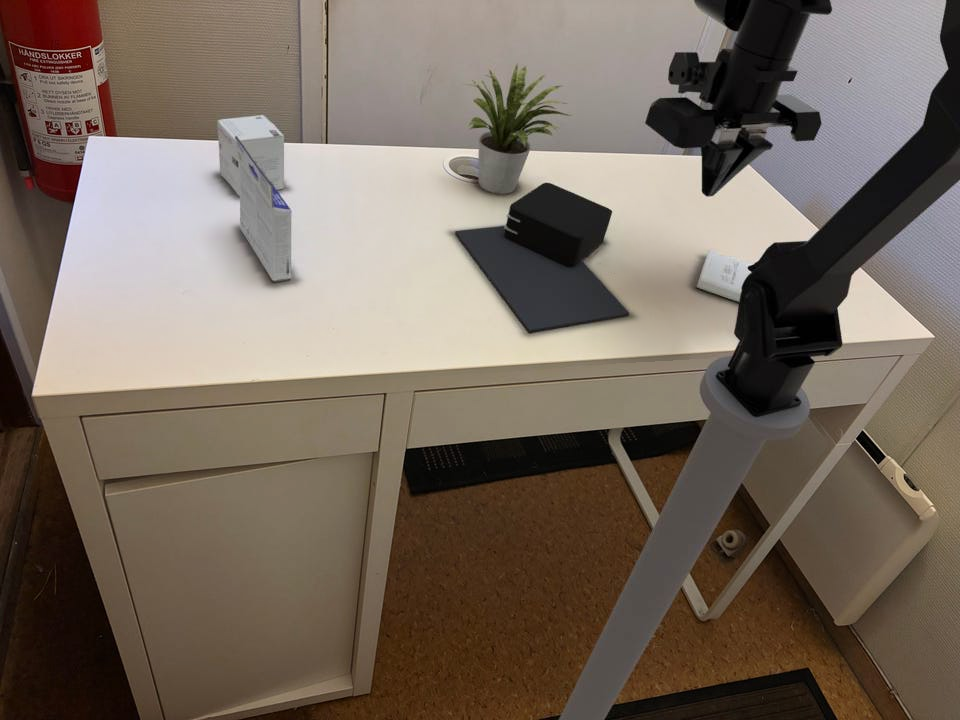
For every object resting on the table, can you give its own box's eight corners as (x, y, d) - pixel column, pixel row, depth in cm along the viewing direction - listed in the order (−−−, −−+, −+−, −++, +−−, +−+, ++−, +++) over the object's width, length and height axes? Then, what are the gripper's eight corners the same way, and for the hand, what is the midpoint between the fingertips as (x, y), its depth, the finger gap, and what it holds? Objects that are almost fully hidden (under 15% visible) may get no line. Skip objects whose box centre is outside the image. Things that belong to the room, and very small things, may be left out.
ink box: (294, 280, 80) (294, 182, 73) (272, 284, 79) (270, 185, 72) (259, 225, 87) (255, 131, 80) (239, 228, 86) (233, 133, 79)
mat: (628, 315, 85) (629, 313, 85) (528, 333, 80) (529, 330, 80) (545, 224, 98) (546, 221, 98) (454, 233, 93) (455, 230, 93)
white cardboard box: (219, 175, 95) (215, 119, 90) (265, 167, 98) (263, 113, 93) (239, 197, 91) (236, 140, 87) (286, 189, 95) (285, 134, 90)
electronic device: (615, 210, 94) (546, 180, 98) (580, 239, 87) (507, 206, 91) (606, 239, 97) (539, 209, 100) (571, 269, 90) (501, 236, 93)
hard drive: (797, 324, 89) (695, 288, 92) (800, 290, 95) (705, 258, 98) (802, 313, 88) (700, 277, 91) (806, 279, 94) (709, 247, 97)
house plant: (483, 223, 96) (506, 98, 85) (421, 174, 103) (435, 53, 93) (563, 201, 104) (593, 84, 93) (500, 157, 111) (521, 44, 101)
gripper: (778, 22, 81) (726, 156, 91) (638, 18, 74) (597, 164, 84) (854, 61, 74) (788, 202, 84) (708, 61, 66) (654, 216, 76)
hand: (707, 194), depth 82 cm, fingers closed
